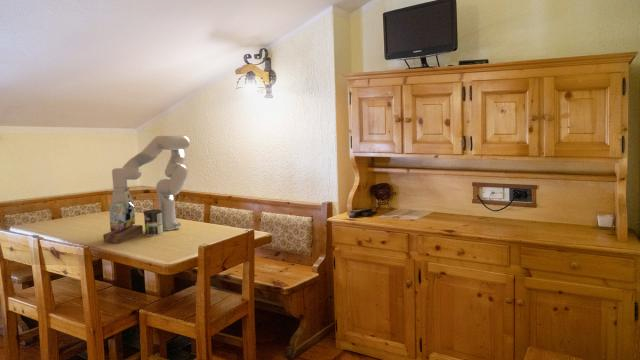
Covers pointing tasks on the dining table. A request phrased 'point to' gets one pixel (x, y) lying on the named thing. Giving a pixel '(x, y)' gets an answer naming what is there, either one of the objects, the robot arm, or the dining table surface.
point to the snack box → (120, 217)
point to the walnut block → (123, 234)
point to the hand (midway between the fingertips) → (122, 219)
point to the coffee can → (153, 222)
